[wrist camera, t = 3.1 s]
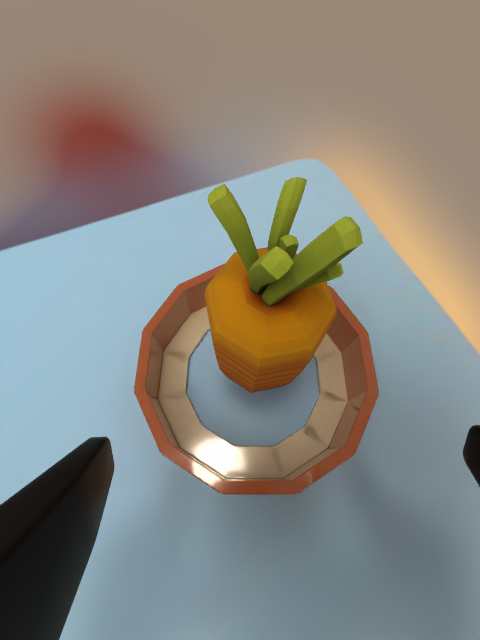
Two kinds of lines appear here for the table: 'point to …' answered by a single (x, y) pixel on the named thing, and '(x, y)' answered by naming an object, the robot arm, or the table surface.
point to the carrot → (273, 292)
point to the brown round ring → (253, 461)
